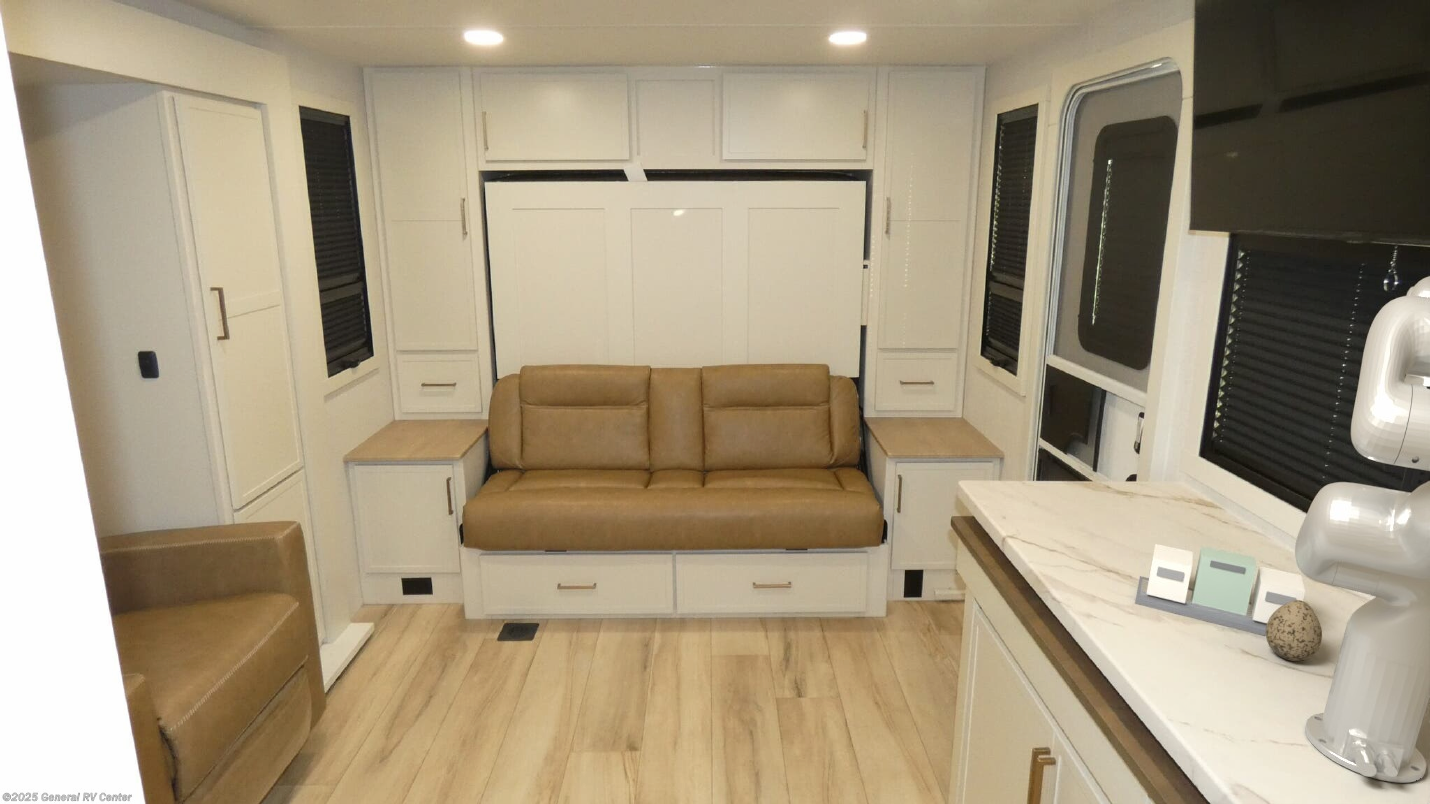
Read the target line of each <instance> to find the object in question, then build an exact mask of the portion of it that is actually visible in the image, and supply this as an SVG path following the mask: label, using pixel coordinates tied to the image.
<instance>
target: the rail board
mask: <svg viewBox="0 0 1430 804" xmlns="http://www.w3.org/2000/svg"><path fill="white" fill-rule="evenodd" d="M1193 555H1194V551H1190V550H1187V549H1185V550H1184V549H1181V548H1176V547H1171V546H1168V545H1162V544H1157V543H1155V544H1154V550H1153V554H1152V560H1151V567H1150V570H1149V571H1150V572H1149V577H1145V576H1142V575H1140V576H1139V579H1138V585H1137V590H1136V596H1135V601H1134V604H1137V605H1141V606H1144V607H1149V608H1151V609H1157V610H1161V611H1164V612H1168V613H1173V614H1176V615H1181V616H1184V617H1189V618H1193V619H1196V620H1201V621H1205V622H1209V623H1213V624H1216V625H1221V626H1224V627H1228V628H1232V629H1236V630H1241V631H1245V632H1249V633H1253V634H1256V635H1260V636H1263V637H1266V625H1267V622H1268V620H1269V618H1270V617H1271V615H1272V614H1273V613H1274V612H1275V611H1276V610H1277V609H1278V608H1280V607H1281V606H1283V605H1285V604H1287V603H1289V602H1291V601H1295V600H1301V601H1304V598H1305V594H1306V590H1305V585H1304V581H1303V576H1302V575H1301V574H1297V573H1293V572H1288V571H1283V570H1279V569H1274V568H1269V567H1264V566H1260V565H1259V566H1258V569H1257V575H1256V579H1255V584H1254V586H1253V587H1254V589H1253V591H1252V592H1253V593H1252V597H1251V601H1249V604H1248V608H1247V613H1246V615H1243V614H1239V613H1234V612H1230V611H1226V610H1222V609H1218V608H1213V607H1209V606H1205V605H1201V604H1197V603H1192V591H1193V587H1189V585H1190V579H1191V575H1192V568H1193V557H1194V556H1193Z"/></svg>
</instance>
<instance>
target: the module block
mask: <svg viewBox="0 0 1430 804" xmlns="http://www.w3.org/2000/svg"><path fill="white" fill-rule="evenodd" d="M1256 572H1257V560H1256V556H1252V555H1247V554H1242V553H1236V552H1232V551H1227V550H1224V549H1219V548H1218V549H1217V548H1214V547H1213V548H1212V547H1208V546H1203V545H1201V547H1200V552H1199V556H1198V561H1197V566H1196V571H1195V576H1194V581H1193V585H1192V588H1193V591H1192V603H1197V604H1201V605H1205V606H1209V607H1213V608H1218V609H1222V610H1226V611H1230V612H1234V613H1239V614H1243V615H1246V613H1247V608H1248V604H1249V602H1250V600H1251V599H1250V598H1251V595H1252V590H1253V587H1254V586H1253V585H1254V580H1255V576H1256Z"/></svg>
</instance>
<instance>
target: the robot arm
mask: <svg viewBox="0 0 1430 804" xmlns="http://www.w3.org/2000/svg"><path fill="white" fill-rule="evenodd" d="M1355 396H1356V397H1355V402H1354V407H1353V412H1352V418H1351V423H1350V424H1351V425H1350V439H1351V443H1352V445H1353V447H1354V449H1355V451H1357V453H1358V454H1360V455H1361V456H1363V457H1364V458H1367V460H1372V461H1375V462H1376V463H1377V462H1378V463H1382V464H1383V471H1384V472H1385V473H1389V474H1390V473H1392V474H1396V475H1397V474H1398V475H1403V478H1402V481H1401V483H1400V484H1401V485H1400V490H1396V489H1390V488H1386V487H1381V486H1380V487H1379V486H1373V485H1370V484H1369V485H1368V484H1364V483H1363V484H1362V483H1357V482H1347V481H1339V482H1333V483H1329V484H1326V485H1324V486H1323V487H1322V488H1320V490H1319V491H1318V493H1316V495H1315V496H1314V499H1313V500H1312V502H1311V504H1310V506H1309V508H1308V510H1307V513H1306V515H1305V517H1304V520H1303V522H1302V524H1301V526H1300V529H1299V531H1298V534H1297V535H1296V540H1295V546H1294V547H1295V548H1294V558H1295V562H1296V565H1297V567H1298V570H1299V571H1300V573H1302V574H1303V575H1304V576H1305V577H1306V578H1307V579H1309V580H1312V581H1315V582H1317V583H1321V584H1325V585H1329V586H1333V587H1337V588H1341V589H1344V590H1350V591H1352V592H1353V591H1354V592H1357V593H1362V594H1364V595H1365V594H1366V595H1369V596H1373V597H1374V598H1372V599H1371V600H1369V601H1367V602H1365V603H1364V604H1363V605H1361V606H1360V607H1358V608H1356V610H1355V611H1354V612H1353V613H1352V614H1351V616H1350V617H1349V619H1348V620H1347V622H1346V627H1345V630H1344V634H1343V638H1342V640H1341V641H1342V642H1341V645H1340V649H1339V652H1338V653H1339V654H1338V658H1337V660H1336V664H1335V669H1334V672H1333V675H1332V676H1333V677H1332V681H1331V684H1330V688H1329V691H1328V696H1327V699H1326V703H1325V707H1324V710H1323V712H1321V713H1315V714H1313V715H1310V716H1309V717H1308V718H1307V720H1306V723H1305V725H1304V733H1305V735H1306V738H1307V739H1308V740H1309V742H1310V743H1311V745H1313V746H1314V748H1316V750H1317V751H1319V752H1320V753H1322V754H1323V755H1324V756H1325V757H1327V758H1328V759H1330V760H1332V761H1333V762H1335V763H1337V764H1338V765H1341V766H1342V767H1344V768H1347V769H1349V770H1350V771H1353V772H1355V773H1357V774H1360V775H1361V776H1364V777H1366V778H1367V777H1369V778H1372V779H1376V780H1379V781H1385V782H1389V783H1399V784H1400V783H1401V784H1402V783H1412V782H1417V781H1419V780H1421V779H1423V777H1424V776H1425V774H1426V770H1427V767H1428V766H1427V761H1426V758H1425V757H1424V755H1423V754H1422V753H1421V752H1420V751H1419V749H1418V748H1417V747H1416V744H1417V742H1418V738H1419V735H1420V732H1421V728H1422V725H1423V722H1424V719H1425V715H1426V712H1427V708H1428V704H1429V702H1430V275H1428V276H1426V277H1424V278H1422V279H1421V280H1419V281H1418V282H1417V283H1415V285H1414V286H1410V288H1409V289H1408V290H1407V292H1406V295H1403V296H1400V297H1396V298H1395V299H1391V300H1390V301H1389V302H1387V303H1385V305H1384V306H1382V307H1381V309H1380V310H1379V311H1378V313H1376V315H1375V317H1374V319H1373V321H1372V323H1371V326H1370V327H1369V331H1368V333H1367V337H1366V341H1365V345H1364V349H1363V354H1362V359H1361V367H1360V372H1359V380H1358V385H1357V391H1356V395H1355ZM1420 778H1421V779H1420ZM1416 780H1417V781H1416Z"/></svg>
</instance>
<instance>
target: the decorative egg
mask: <svg viewBox="0 0 1430 804" xmlns="http://www.w3.org/2000/svg"><path fill="white" fill-rule="evenodd" d="M1265 637H1266V642H1267V643H1268V645H1269V648H1270V649H1271V650H1272V651H1273V652H1274V653H1275V654H1276V655H1277V656H1279V657H1280V658H1282V659H1285V660H1286V661H1287V660H1288V661H1293V662H1299V661H1305V660H1307V659H1309V658H1311V657H1313V656H1314V655H1315V654H1316V653H1317V652H1318V651H1319V649H1320V647H1321V645H1322V641H1323V629H1322V626H1321V622H1320V620H1319V618H1318V616H1317V614H1316V613H1315V611H1314V610H1313V608H1312V607H1311V606H1310V605H1309V604H1308V603H1307V602H1305V601H1304V600H1303V601H1301V600H1295V601H1291V602H1289V603H1287V604H1285V605H1283V606H1281V607H1280V608H1278V609H1277V610H1276V611H1275V612H1274V613H1273V614H1272V615H1271V617H1270V618H1269V620H1268V622H1267V625H1266V636H1265Z"/></svg>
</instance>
